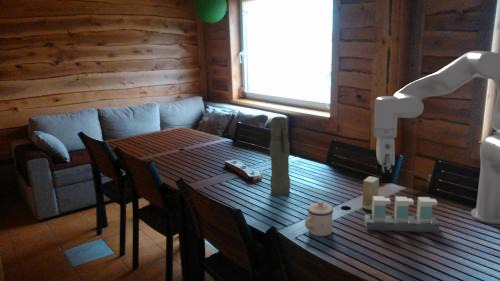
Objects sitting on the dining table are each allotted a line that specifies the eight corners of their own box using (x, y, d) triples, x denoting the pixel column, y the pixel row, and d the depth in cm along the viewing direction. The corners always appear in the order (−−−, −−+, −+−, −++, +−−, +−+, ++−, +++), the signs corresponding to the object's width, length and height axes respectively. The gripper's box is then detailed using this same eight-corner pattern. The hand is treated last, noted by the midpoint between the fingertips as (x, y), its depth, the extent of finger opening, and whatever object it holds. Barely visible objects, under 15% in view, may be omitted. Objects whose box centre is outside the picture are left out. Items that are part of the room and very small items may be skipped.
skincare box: (368, 203, 170) (369, 175, 167) (378, 205, 167) (379, 177, 164) (361, 208, 165) (362, 180, 162) (372, 210, 162) (373, 182, 159)
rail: (433, 223, 150) (433, 215, 149) (439, 232, 143) (439, 224, 142) (364, 221, 154) (364, 214, 153) (366, 229, 147) (366, 222, 146)
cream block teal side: (432, 220, 148) (434, 197, 146) (436, 226, 143) (438, 202, 141) (416, 219, 149) (417, 197, 147) (419, 225, 144) (421, 202, 142)
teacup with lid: (319, 223, 154) (319, 194, 151) (338, 231, 147) (338, 201, 144) (296, 233, 147) (296, 203, 144) (315, 242, 140) (315, 211, 137)
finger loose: (387, 218, 151) (388, 196, 148) (390, 224, 146) (391, 201, 144) (371, 218, 151) (372, 196, 149) (373, 224, 147) (374, 201, 145)
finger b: (410, 219, 149) (411, 196, 147) (413, 225, 145) (414, 202, 142) (393, 218, 150) (395, 196, 148) (396, 224, 146) (397, 201, 143)
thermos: (280, 198, 178) (279, 121, 169) (265, 190, 188) (263, 117, 179) (296, 193, 183) (295, 118, 174) (280, 186, 192) (278, 114, 183)
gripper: (401, 138, 132) (399, 186, 137) (391, 126, 149) (389, 169, 153) (378, 138, 133) (376, 186, 138) (370, 126, 150) (369, 170, 154)
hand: (383, 177), depth 145 cm, fingers open, 9 cm apart
